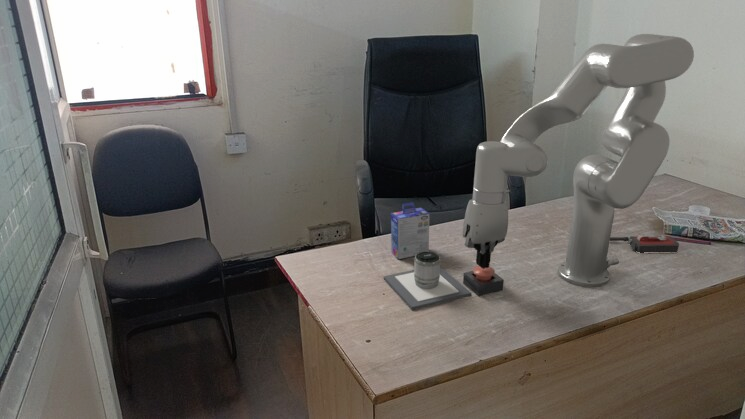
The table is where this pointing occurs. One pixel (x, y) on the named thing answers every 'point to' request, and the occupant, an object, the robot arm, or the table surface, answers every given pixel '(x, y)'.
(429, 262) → the camera lens
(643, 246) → the walkie-talkie
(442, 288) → the desk mat
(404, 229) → the ink cartridge box
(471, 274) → the button housing
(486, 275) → the button
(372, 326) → the table surface
